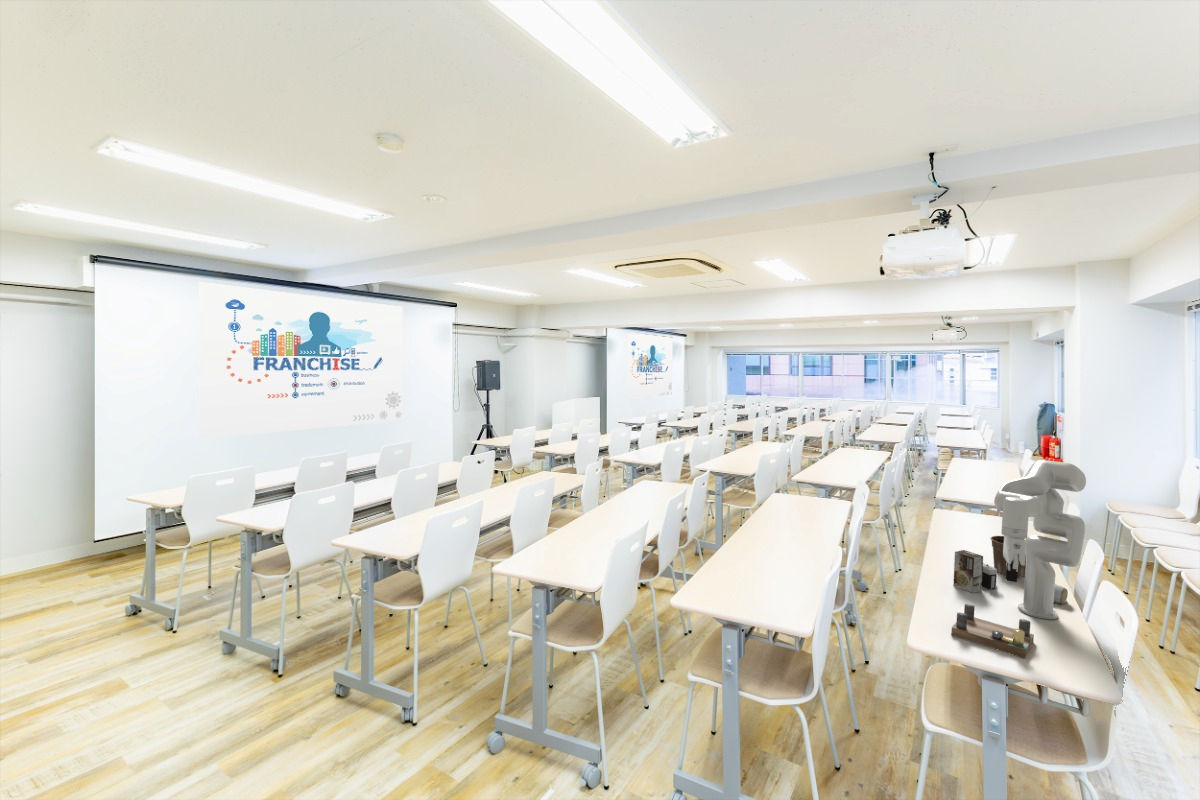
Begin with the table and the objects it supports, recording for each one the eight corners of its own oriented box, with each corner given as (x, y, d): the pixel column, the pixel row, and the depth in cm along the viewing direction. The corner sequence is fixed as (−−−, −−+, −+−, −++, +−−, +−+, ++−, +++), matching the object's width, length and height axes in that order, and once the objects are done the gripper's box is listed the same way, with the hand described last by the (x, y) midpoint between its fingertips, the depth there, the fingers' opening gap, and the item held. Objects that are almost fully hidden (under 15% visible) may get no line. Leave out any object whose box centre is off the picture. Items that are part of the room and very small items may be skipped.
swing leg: (990, 637, 194) (991, 623, 194) (993, 634, 196) (994, 621, 196) (1022, 647, 187) (1023, 633, 187) (1024, 644, 189) (1025, 631, 189)
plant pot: (981, 569, 268) (983, 537, 267) (1000, 564, 275) (1002, 533, 274) (1017, 581, 253) (1020, 548, 252) (1037, 576, 260) (1039, 543, 259)
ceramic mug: (1062, 606, 228) (1063, 588, 227) (1038, 599, 234) (1039, 582, 234) (1070, 601, 234) (1071, 583, 233) (1046, 594, 240) (1048, 577, 240)
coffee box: (982, 591, 242) (984, 556, 241) (972, 593, 240) (974, 557, 239) (962, 583, 251) (963, 549, 250) (952, 585, 248) (954, 551, 247)
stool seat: (962, 621, 213) (963, 601, 213) (1033, 642, 197) (1034, 621, 197) (951, 635, 202) (952, 614, 202) (1025, 658, 186) (1026, 636, 186)
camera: (1004, 589, 244) (1005, 567, 243) (984, 590, 244) (985, 568, 243) (982, 577, 258) (982, 557, 257) (963, 578, 258) (963, 557, 257)
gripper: (1032, 539, 189) (1029, 590, 190) (1021, 527, 202) (1018, 575, 203) (1006, 535, 192) (1003, 586, 193) (997, 524, 205) (994, 572, 207)
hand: (1011, 580), depth 198 cm, fingers closed
